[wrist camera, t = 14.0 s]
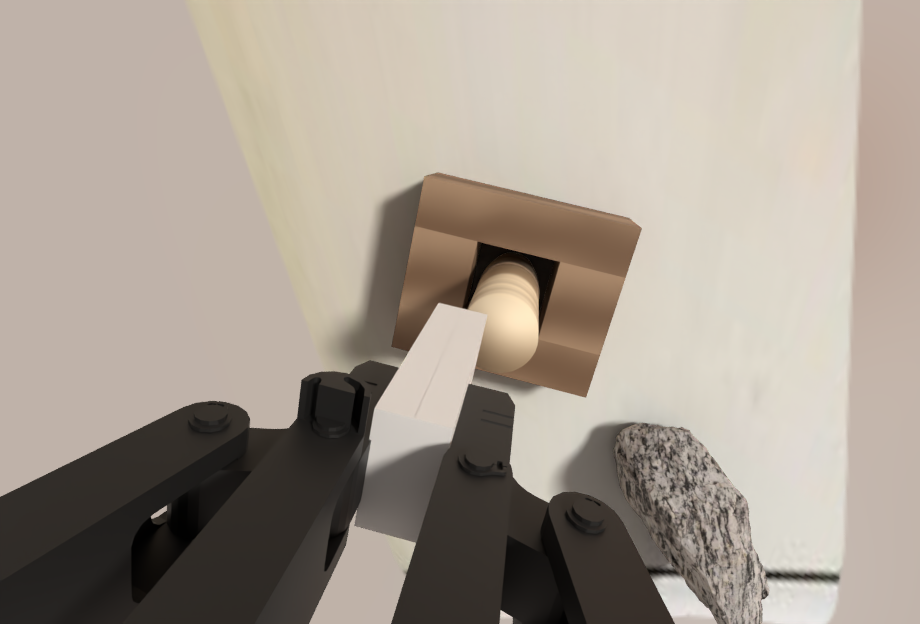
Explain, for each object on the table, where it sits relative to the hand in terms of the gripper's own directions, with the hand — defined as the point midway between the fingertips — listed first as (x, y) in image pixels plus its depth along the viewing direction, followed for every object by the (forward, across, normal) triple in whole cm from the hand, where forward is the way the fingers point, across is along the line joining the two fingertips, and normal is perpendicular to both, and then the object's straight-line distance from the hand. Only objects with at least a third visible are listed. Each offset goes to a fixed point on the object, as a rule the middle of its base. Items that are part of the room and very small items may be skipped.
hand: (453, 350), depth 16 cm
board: (+25, +1, -4) cm, 25 cm away
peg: (+25, +1, -4) cm, 25 cm away
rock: (+25, +18, -18) cm, 36 cm away
